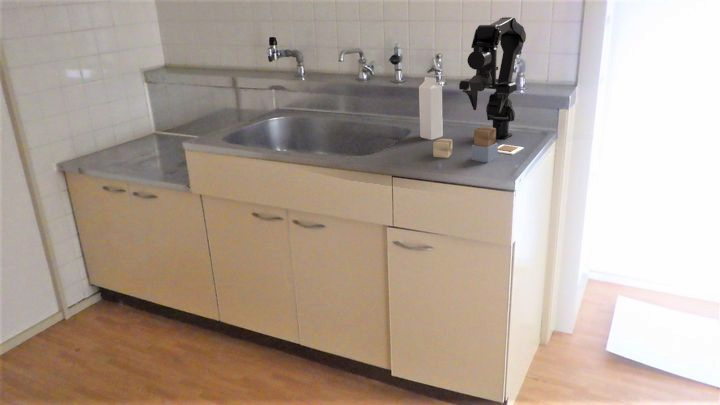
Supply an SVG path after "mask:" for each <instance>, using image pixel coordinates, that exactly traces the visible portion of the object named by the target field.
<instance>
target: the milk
mask: <svg viewBox="0 0 720 405" xmlns="http://www.w3.org/2000/svg"><path fill="white" fill-rule="evenodd" d="M418 100H419V101H418V102H419V103H418V105H419V107H418V108H419V134H420V138H421V139H422V138H423V139H425V140H430V141H432V140H437V139H441V138H442V137H443V136H444V132H443V130H444V129H443V126H444V125H443V120H444V119H443V86H442V85H441V84H439V83H438V82H437V79H436V77H435V78H434V77H429V76H424V81H423V82H422V83H421V84H420V85H419V87H418Z"/></svg>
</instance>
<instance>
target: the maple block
mask: <svg viewBox="0 0 720 405" xmlns="http://www.w3.org/2000/svg"><path fill="white" fill-rule="evenodd" d="M432 146H433V149H432V151H433V153H432V154H433V157H434V158H443V159H444V158H446V159H449V158H450V157H451V155H453V139H452V138H451V139H450V138H436V139H435V141H433V143H432Z"/></svg>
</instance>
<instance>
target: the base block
mask: <svg viewBox="0 0 720 405" xmlns="http://www.w3.org/2000/svg"><path fill="white" fill-rule="evenodd" d="M498 146H499V143H498V142H496V143H495V144H493V145H491V146H490V147H483V146H476V145H474V144H472V145H471V160H472V161H475V162H483V163H491V162H492V161H494V160H496V159H498V154H499V153H498Z"/></svg>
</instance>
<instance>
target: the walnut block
mask: <svg viewBox="0 0 720 405" xmlns="http://www.w3.org/2000/svg"><path fill="white" fill-rule="evenodd" d="M473 131H474V132H473V145H476V146H483V147H490V146H491V145H493V144H495V143H497V138H496V128H493V127H488V126H480V127H477V128H476V129H474V130H473Z"/></svg>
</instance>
